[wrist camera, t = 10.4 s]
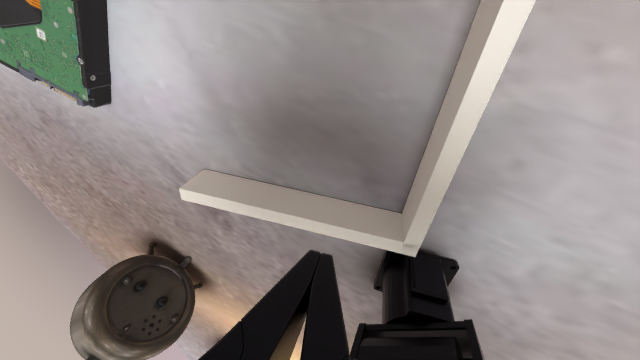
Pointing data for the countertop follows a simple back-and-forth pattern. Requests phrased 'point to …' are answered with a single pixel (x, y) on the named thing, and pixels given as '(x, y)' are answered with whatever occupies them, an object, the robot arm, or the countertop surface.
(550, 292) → the countertop surface
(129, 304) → the alarm clock
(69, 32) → the disk drive
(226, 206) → the beige bent panel frame
